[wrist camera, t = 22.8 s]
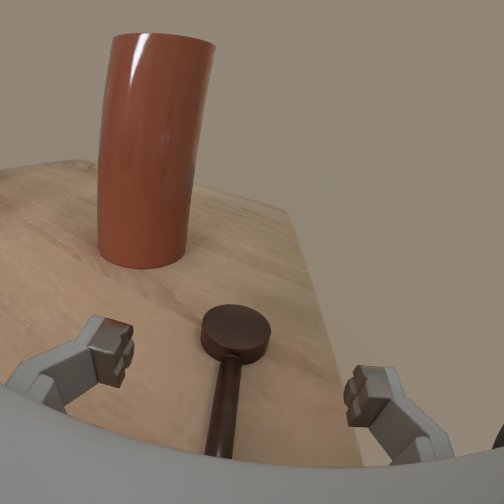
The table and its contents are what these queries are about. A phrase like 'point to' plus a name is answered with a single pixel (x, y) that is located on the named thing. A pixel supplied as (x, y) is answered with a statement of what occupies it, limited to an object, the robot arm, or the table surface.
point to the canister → (150, 146)
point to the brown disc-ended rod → (230, 366)
